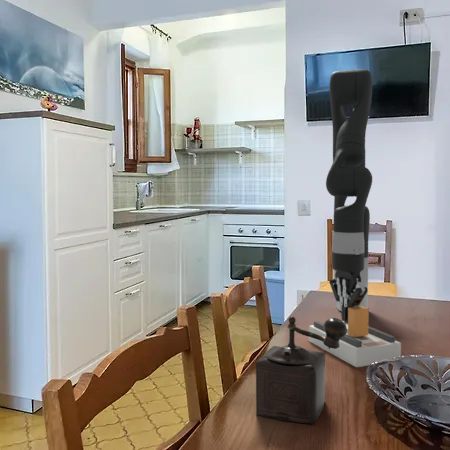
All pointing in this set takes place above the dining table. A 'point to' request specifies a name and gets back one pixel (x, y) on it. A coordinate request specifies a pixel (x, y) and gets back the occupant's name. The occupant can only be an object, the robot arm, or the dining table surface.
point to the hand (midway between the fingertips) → (347, 321)
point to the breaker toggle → (358, 321)
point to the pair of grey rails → (357, 342)
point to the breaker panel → (360, 348)
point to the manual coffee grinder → (295, 376)
